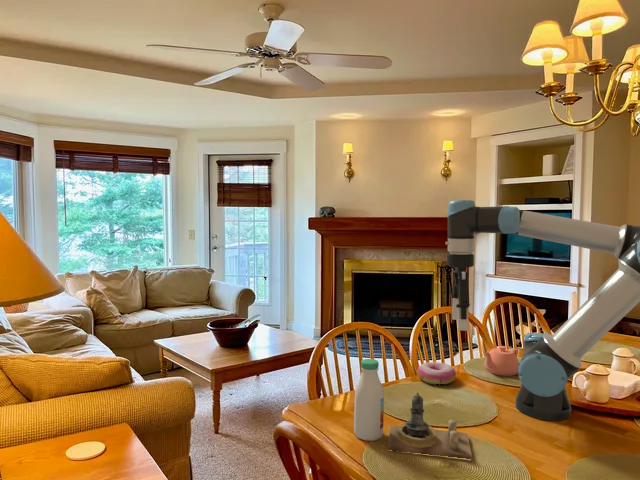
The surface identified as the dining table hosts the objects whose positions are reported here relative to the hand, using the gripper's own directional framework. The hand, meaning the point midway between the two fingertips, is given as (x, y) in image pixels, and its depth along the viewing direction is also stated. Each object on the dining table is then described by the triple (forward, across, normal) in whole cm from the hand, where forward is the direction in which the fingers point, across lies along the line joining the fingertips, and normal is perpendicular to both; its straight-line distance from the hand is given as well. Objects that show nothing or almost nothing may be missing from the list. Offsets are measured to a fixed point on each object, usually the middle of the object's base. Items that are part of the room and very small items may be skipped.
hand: (459, 324), depth 140 cm
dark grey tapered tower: (+25, +22, -13) cm, 36 cm away
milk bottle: (+26, +20, -26) cm, 42 cm away
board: (+26, +22, -10) cm, 36 cm away
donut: (+26, -26, -5) cm, 37 cm away
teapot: (+27, -39, +20) cm, 51 cm away
